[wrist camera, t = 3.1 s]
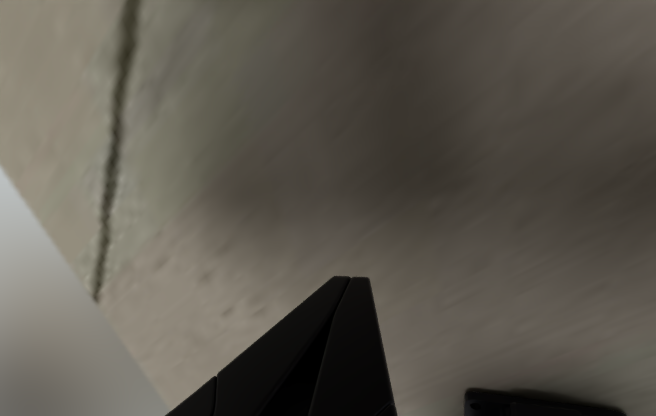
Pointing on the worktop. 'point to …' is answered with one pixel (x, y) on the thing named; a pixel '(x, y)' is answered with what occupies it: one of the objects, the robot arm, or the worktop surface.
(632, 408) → the worktop surface
